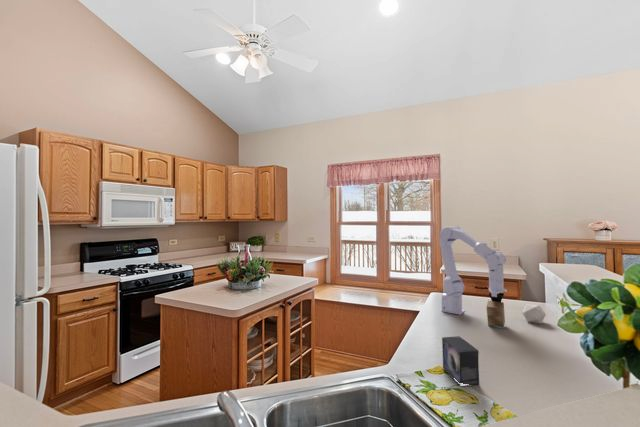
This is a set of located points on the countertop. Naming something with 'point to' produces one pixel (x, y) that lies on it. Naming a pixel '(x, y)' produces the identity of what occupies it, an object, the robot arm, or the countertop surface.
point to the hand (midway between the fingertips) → (496, 309)
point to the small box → (460, 360)
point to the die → (533, 313)
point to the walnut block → (495, 314)
